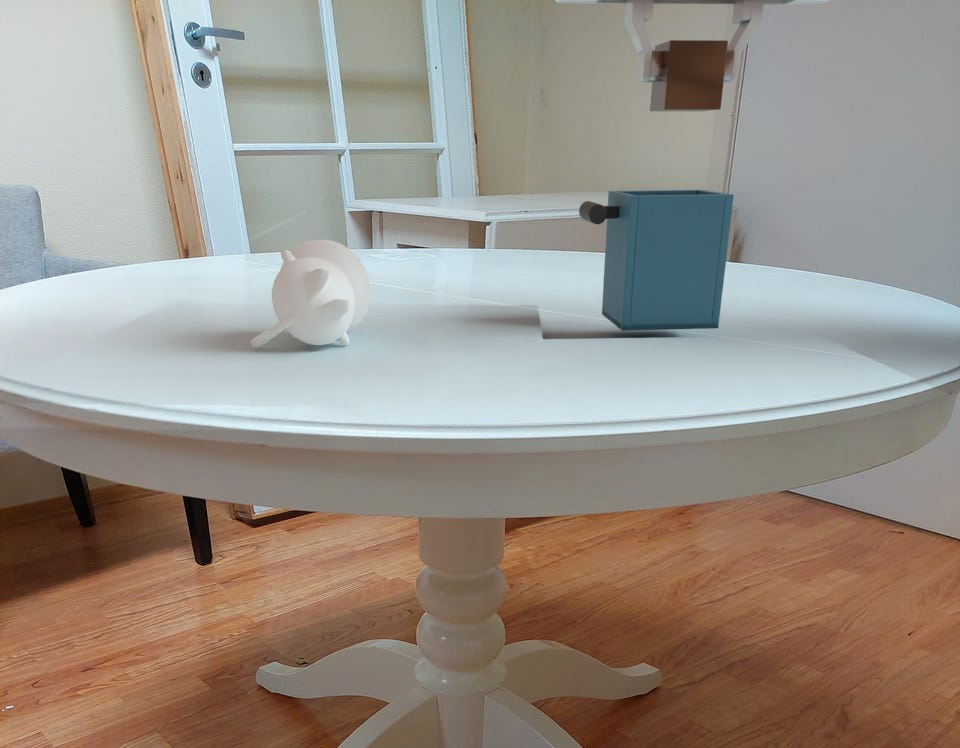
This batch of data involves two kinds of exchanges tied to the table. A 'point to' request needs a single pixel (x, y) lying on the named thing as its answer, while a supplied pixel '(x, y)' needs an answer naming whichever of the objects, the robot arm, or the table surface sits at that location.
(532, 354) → the table surface
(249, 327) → the table surface
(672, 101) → the block
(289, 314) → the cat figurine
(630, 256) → the tub
